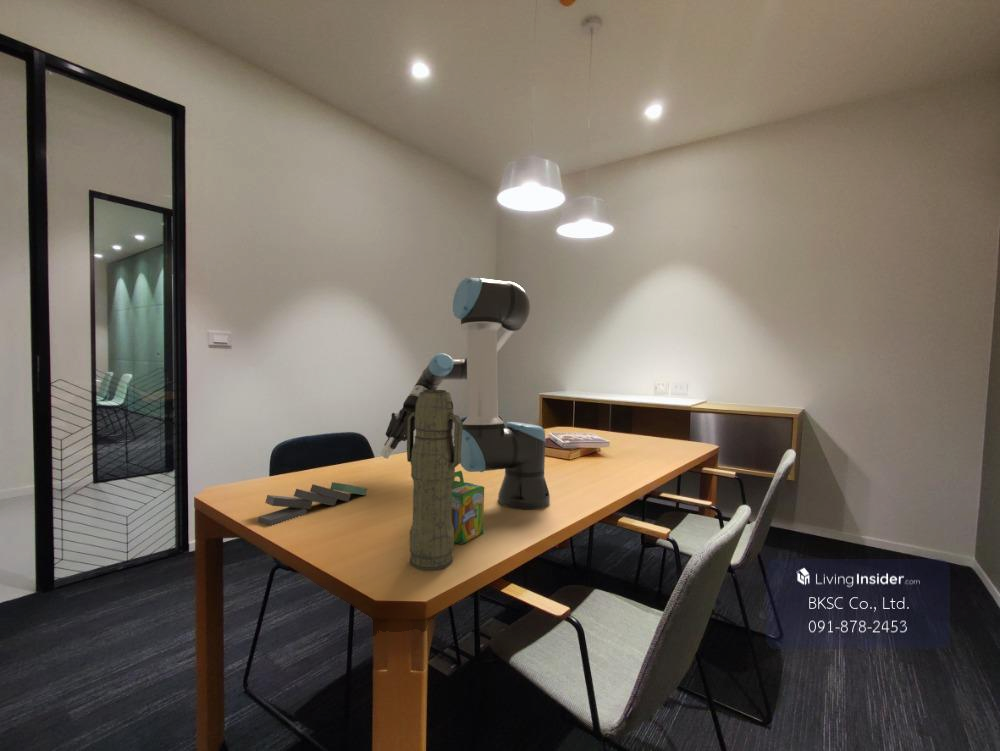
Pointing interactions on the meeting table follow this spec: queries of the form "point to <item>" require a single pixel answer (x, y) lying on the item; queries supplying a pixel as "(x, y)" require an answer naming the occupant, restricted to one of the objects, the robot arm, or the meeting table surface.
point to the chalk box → (467, 509)
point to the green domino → (348, 488)
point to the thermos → (433, 478)
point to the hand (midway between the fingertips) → (384, 455)
